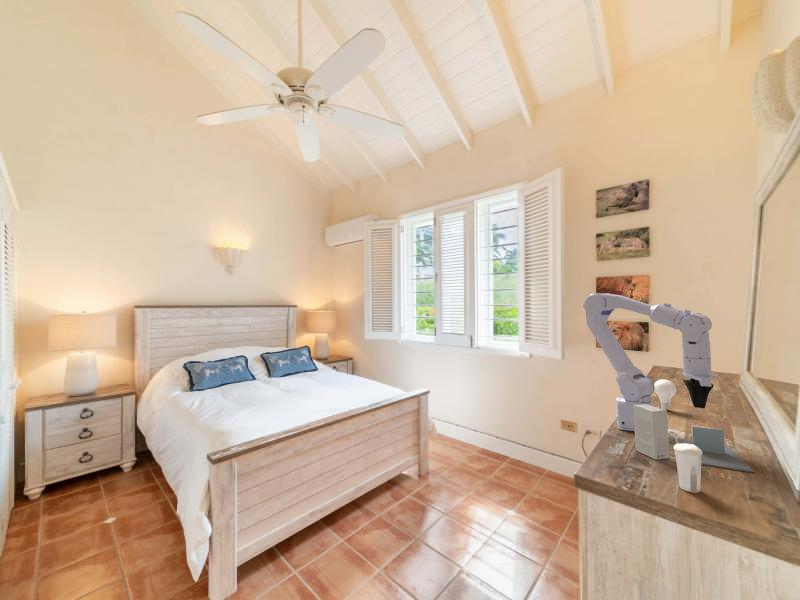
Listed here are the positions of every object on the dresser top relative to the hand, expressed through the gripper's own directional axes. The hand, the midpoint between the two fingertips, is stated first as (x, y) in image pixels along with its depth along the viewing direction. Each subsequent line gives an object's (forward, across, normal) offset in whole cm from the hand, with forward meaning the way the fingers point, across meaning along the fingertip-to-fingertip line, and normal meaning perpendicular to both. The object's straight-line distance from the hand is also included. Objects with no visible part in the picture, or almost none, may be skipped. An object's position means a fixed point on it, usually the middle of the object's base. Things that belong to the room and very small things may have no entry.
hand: (699, 407), depth 91 cm
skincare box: (+10, -13, +13) cm, 21 cm away
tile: (+10, -6, 0) cm, 11 cm away
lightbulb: (+10, +32, +2) cm, 34 cm away
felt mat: (+10, -7, 0) cm, 12 cm away
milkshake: (+10, -29, +9) cm, 32 cm away
